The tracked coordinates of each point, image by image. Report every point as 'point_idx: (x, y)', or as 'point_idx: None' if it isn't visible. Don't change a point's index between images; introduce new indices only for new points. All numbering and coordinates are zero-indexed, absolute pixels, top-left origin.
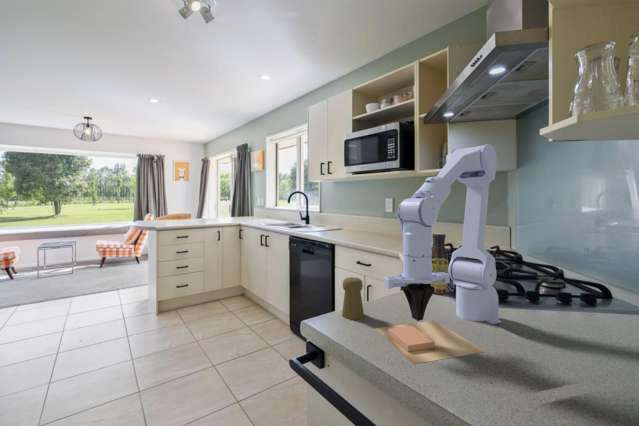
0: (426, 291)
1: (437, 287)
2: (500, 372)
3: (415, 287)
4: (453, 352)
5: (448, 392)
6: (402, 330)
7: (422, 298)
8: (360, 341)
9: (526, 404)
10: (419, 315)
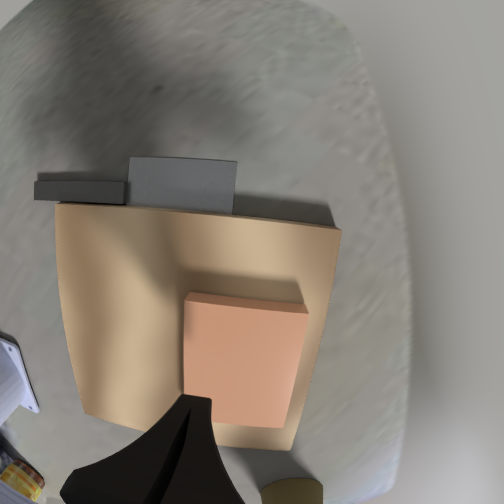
0: (137, 500)
1: (25, 476)
2: (92, 124)
3: None
4: (147, 238)
5: (315, 96)
6: (243, 407)
7: (162, 474)
8: (358, 415)
9: (165, 9)
10: (199, 410)
